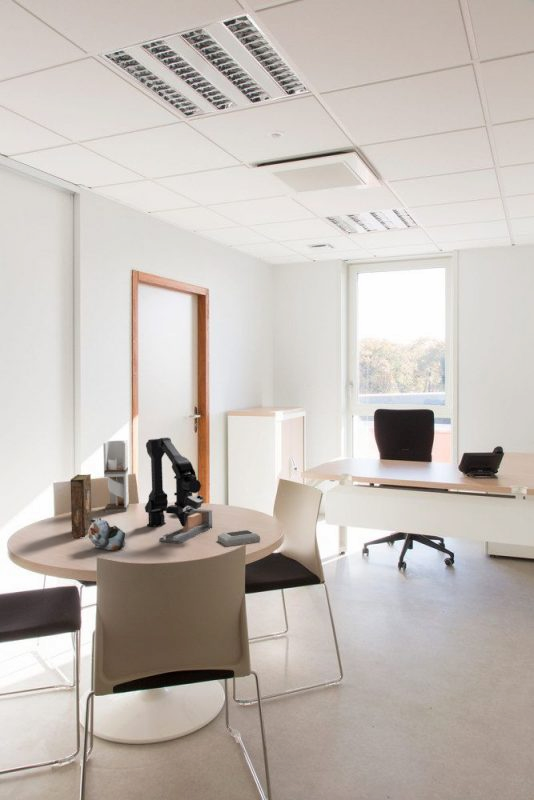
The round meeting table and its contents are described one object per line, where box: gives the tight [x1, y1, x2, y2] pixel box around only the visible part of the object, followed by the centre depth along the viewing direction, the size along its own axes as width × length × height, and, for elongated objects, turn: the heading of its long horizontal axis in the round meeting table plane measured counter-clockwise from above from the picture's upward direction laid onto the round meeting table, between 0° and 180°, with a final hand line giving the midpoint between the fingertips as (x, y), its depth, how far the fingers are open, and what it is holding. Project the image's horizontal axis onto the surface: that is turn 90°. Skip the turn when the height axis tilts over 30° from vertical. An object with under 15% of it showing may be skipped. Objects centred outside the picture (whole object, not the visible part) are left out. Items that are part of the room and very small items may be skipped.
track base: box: [158, 508, 213, 544], centre depth 272 cm, size 10×28×8 cm, turn 157°
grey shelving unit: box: [103, 440, 130, 513], centre depth 324 cm, size 11×11×35 cm
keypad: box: [217, 529, 261, 547], centre depth 260 cm, size 10×4×15 cm
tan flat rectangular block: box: [182, 513, 202, 532], centre depth 277 cm, size 2×12×6 cm, turn 157°
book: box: [70, 473, 93, 539], centre depth 275 cm, size 16×6×25 cm, turn 5°
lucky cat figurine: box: [88, 518, 127, 552], centre depth 251 cm, size 15×12×14 cm
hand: (183, 526), depth 270 cm, fingers closed
